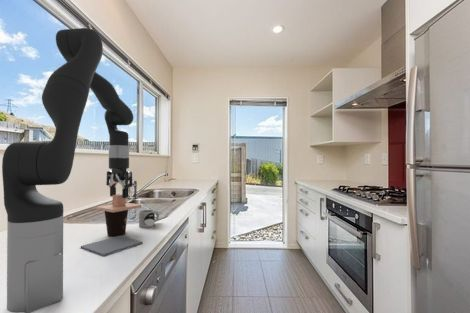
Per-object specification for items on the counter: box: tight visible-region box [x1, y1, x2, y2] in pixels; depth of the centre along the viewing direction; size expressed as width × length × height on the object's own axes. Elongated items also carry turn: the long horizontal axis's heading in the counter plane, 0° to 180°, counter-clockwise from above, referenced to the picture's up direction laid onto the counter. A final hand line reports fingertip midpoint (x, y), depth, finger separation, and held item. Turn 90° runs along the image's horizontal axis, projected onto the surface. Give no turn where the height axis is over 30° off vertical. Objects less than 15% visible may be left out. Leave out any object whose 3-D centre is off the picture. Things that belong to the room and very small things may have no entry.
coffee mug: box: [104, 210, 129, 238], centre depth 101 cm, size 12×9×10 cm
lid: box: [95, 193, 142, 213], centre depth 102 cm, size 12×12×6 cm
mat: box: [80, 235, 144, 257], centre depth 86 cm, size 14×14×1 cm
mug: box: [138, 209, 160, 229], centre depth 114 cm, size 10×7×7 cm, turn 148°
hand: (119, 197), depth 102 cm, fingers open, 8 cm apart
